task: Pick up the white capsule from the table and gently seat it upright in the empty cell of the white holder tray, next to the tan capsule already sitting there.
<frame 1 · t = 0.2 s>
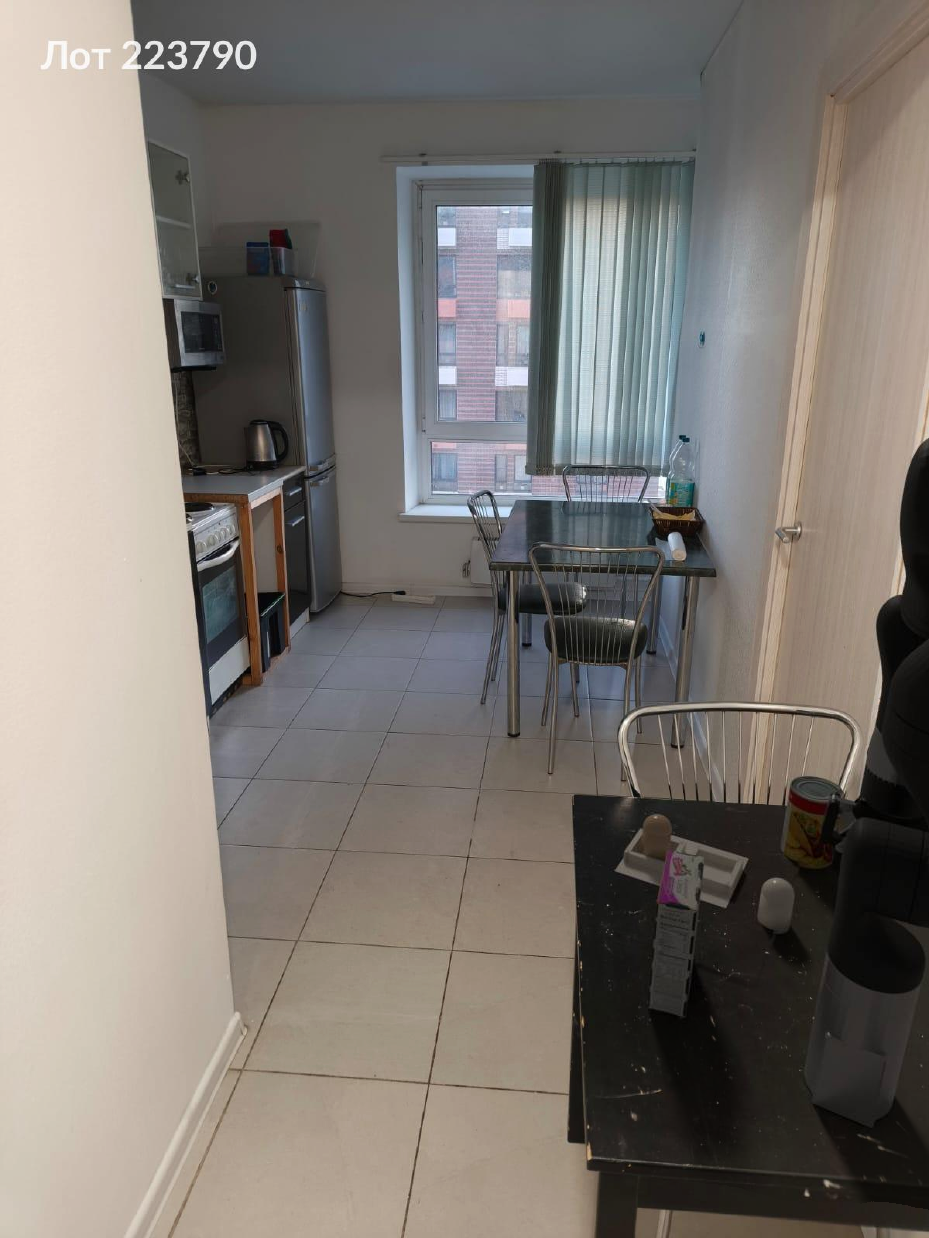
hand: (878, 883, 103), 18 cm above the table, tool pointing down, fingers open, 8 cm apart
candy bar box: (669, 984, 111), on the table
white capsule: (773, 923, 122), on the table
white holder tray: (682, 867, 134), on the table
tan capsule: (654, 855, 136), point 1 cm above the table, touching white holder tray
canned food: (805, 854, 138), on the table
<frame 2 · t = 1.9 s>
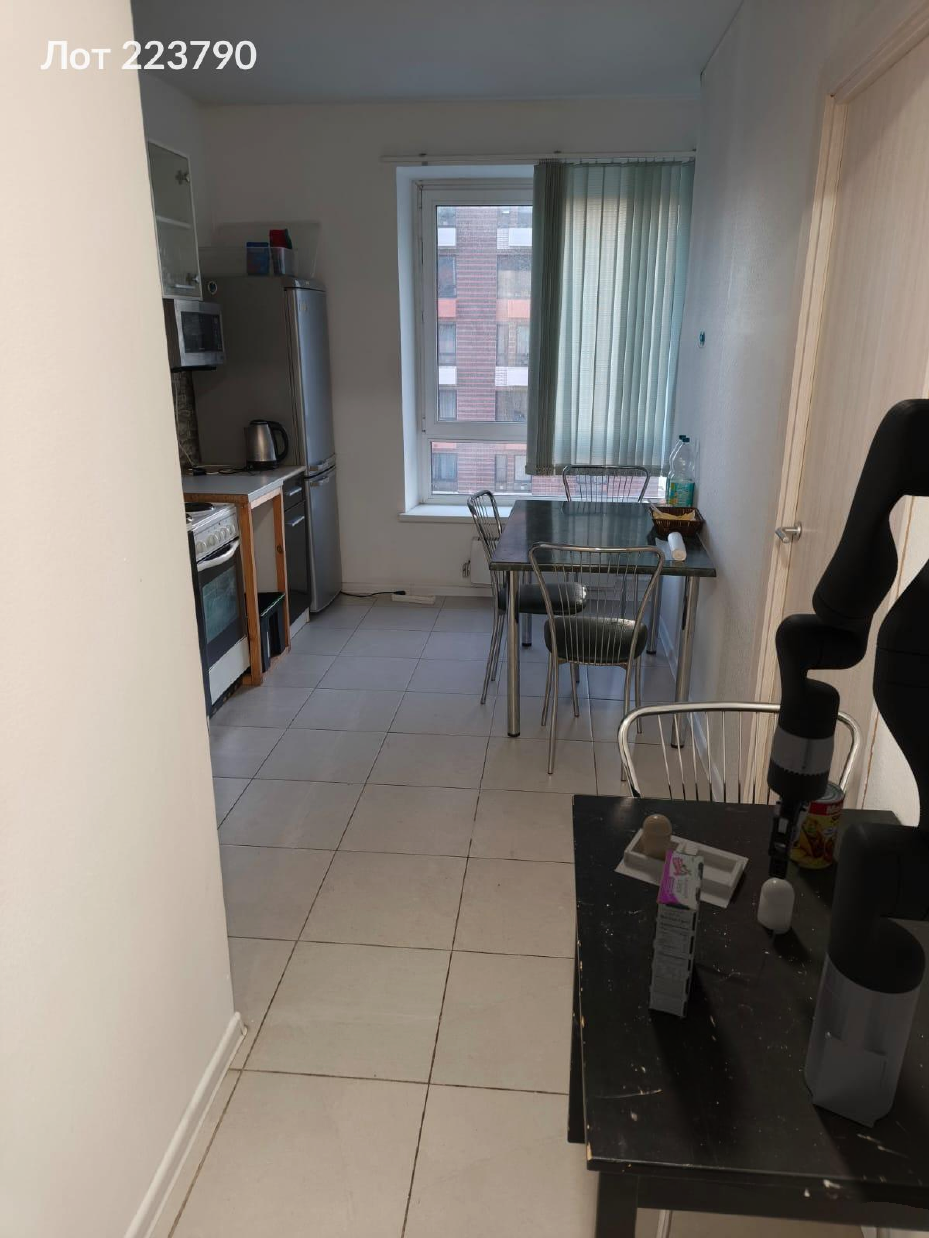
hand: (783, 859, 119), 10 cm above the table, tool pointing down, fingers open, 8 cm apart
nothing on the table moved.
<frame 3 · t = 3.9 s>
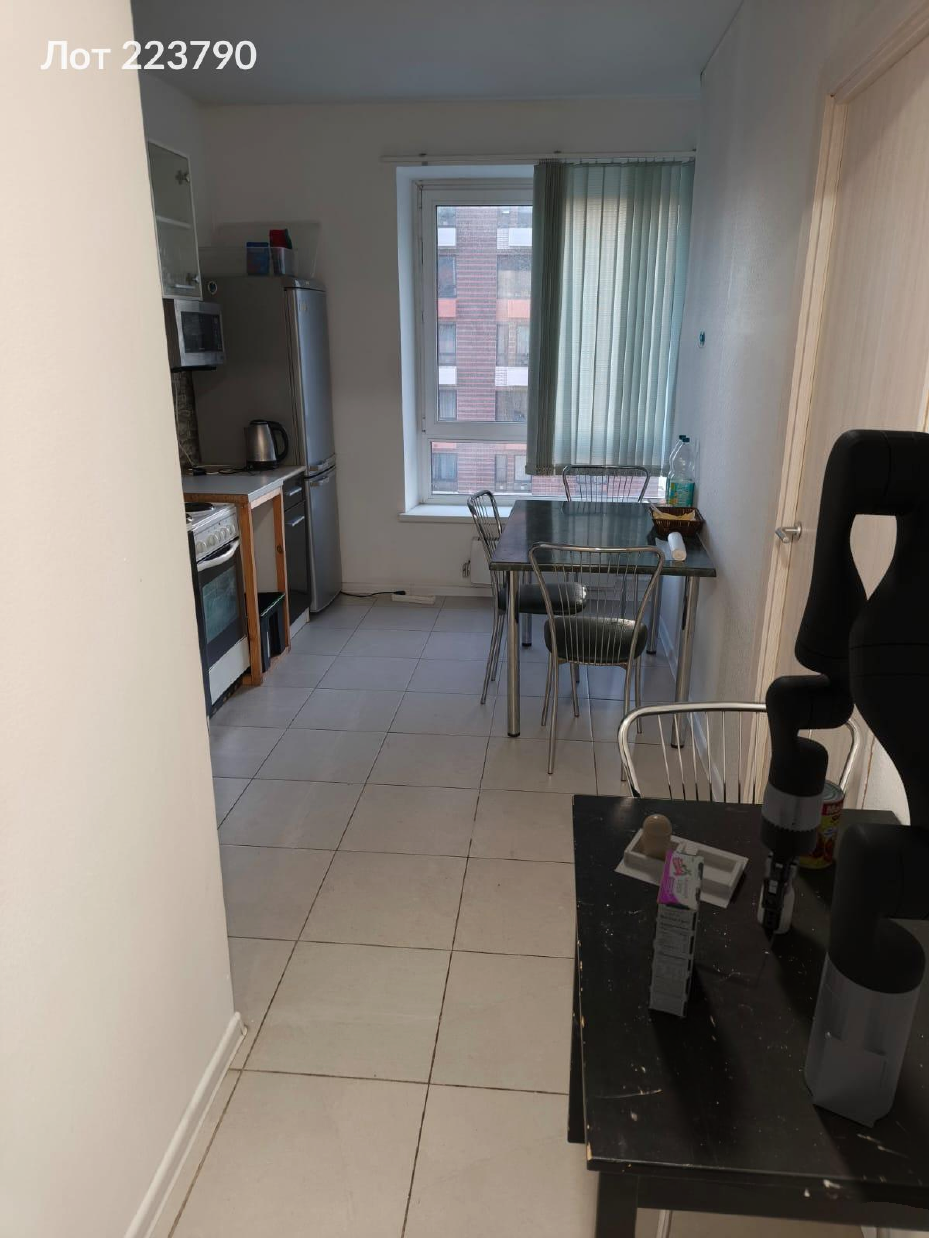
hand: (774, 916, 122), 1 cm above the table, tool pointing down, fingers closed on white capsule, 4 cm apart
white capsule: (773, 923, 122), on the table, touching gripper
everything else where it was.
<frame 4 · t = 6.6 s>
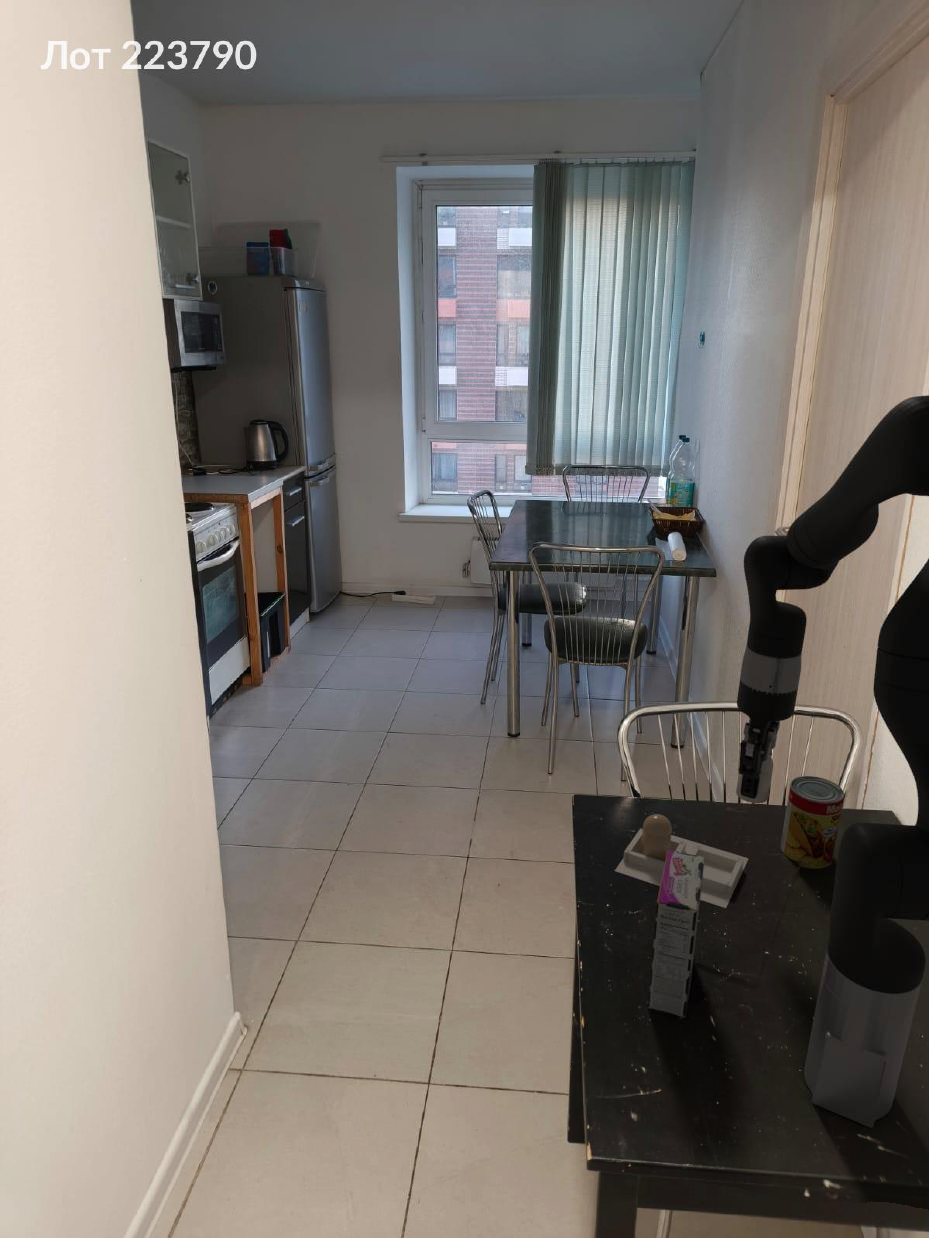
hand: (752, 787, 122), 18 cm above the table, tool pointing down, fingers closed on white capsule, 4 cm apart
white capsule: (752, 794, 123), point 17 cm above the table, touching gripper
everything else where it was.
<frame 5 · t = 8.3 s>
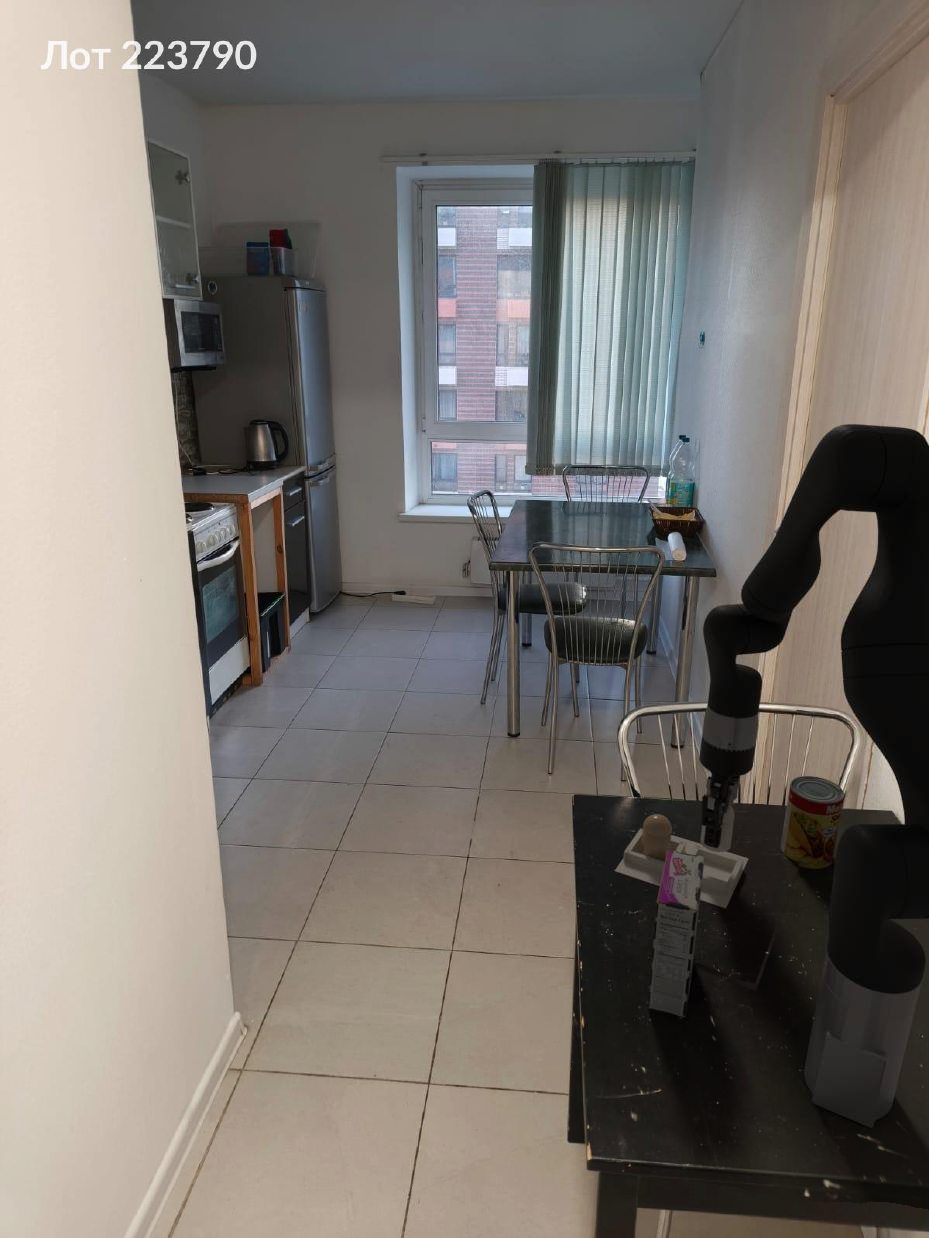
hand: (716, 836, 130), 7 cm above the table, tool pointing down, fingers closed on white capsule, 4 cm apart
white capsule: (715, 843, 130), point 6 cm above the table, touching gripper
everything else where it was.
when the fingers open (4 cm above the table, at t = 9.8 s): white capsule drops 2 cm, resting on white holder tray.
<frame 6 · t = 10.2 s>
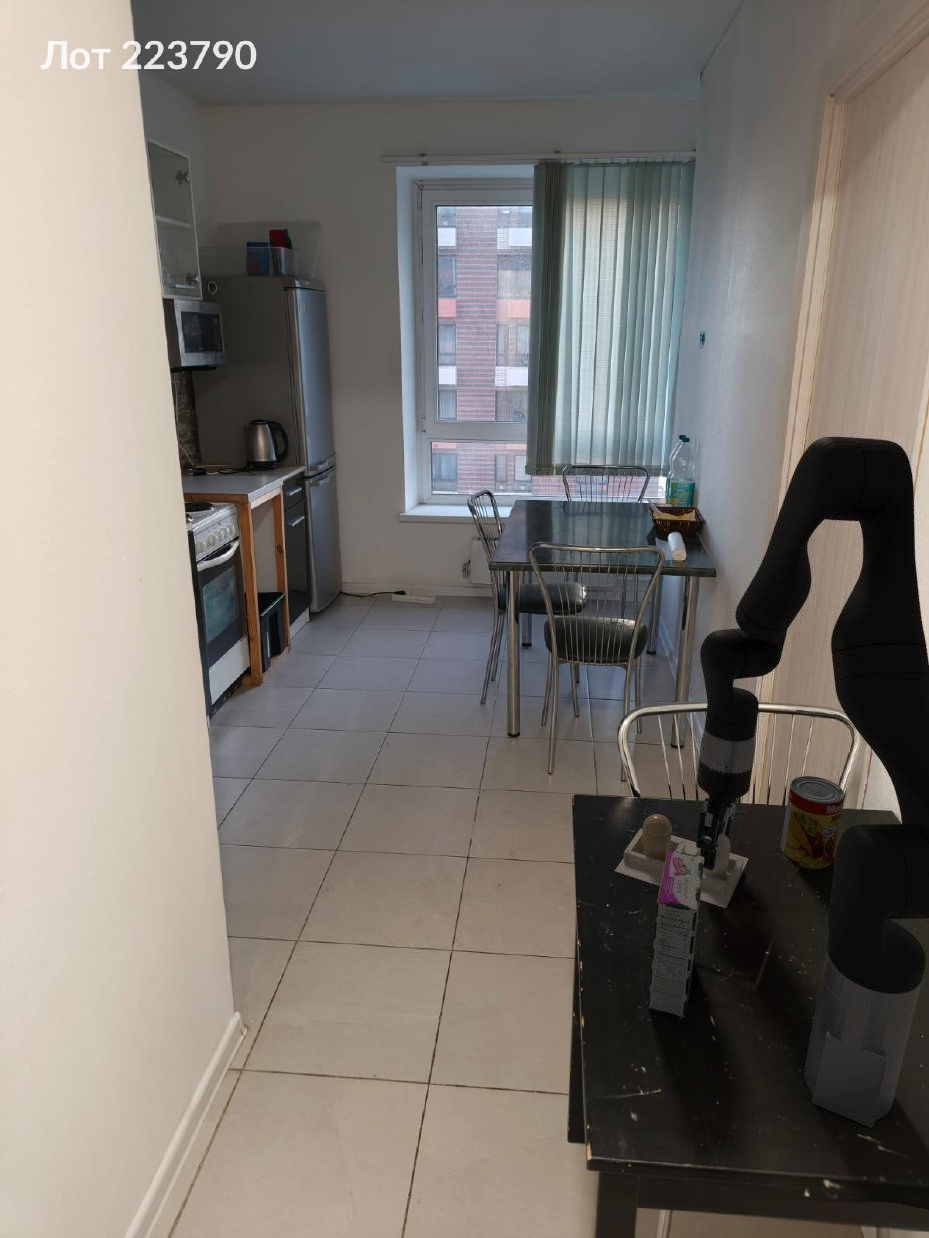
hand: (714, 852, 131), 4 cm above the table, tool pointing down, fingers open, 8 cm apart
white capsule: (711, 873, 132), point 1 cm above the table, touching white holder tray
everything else where it was.
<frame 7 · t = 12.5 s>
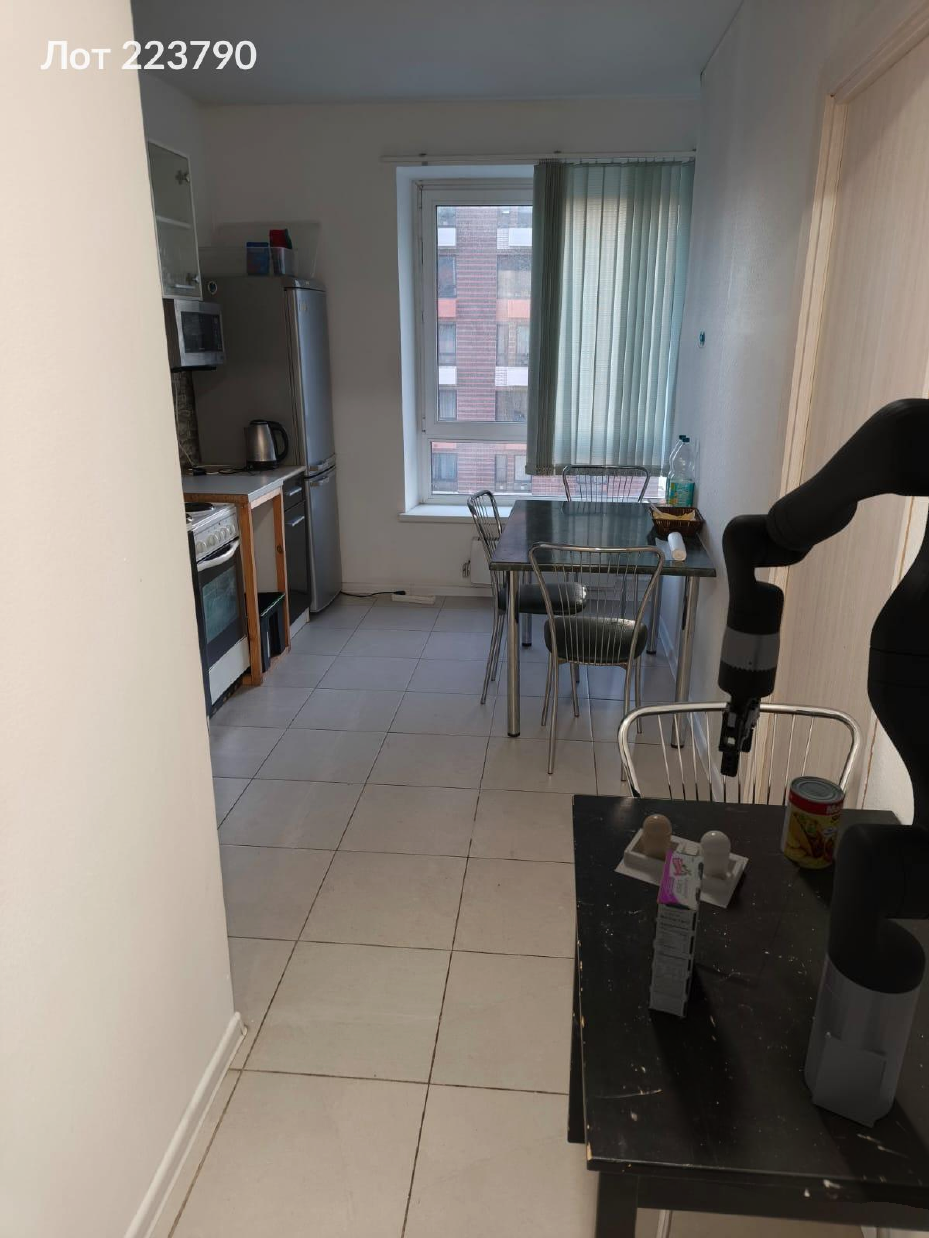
hand: (735, 762, 123), 21 cm above the table, tool pointing down, fingers open, 8 cm apart
nothing on the table moved.
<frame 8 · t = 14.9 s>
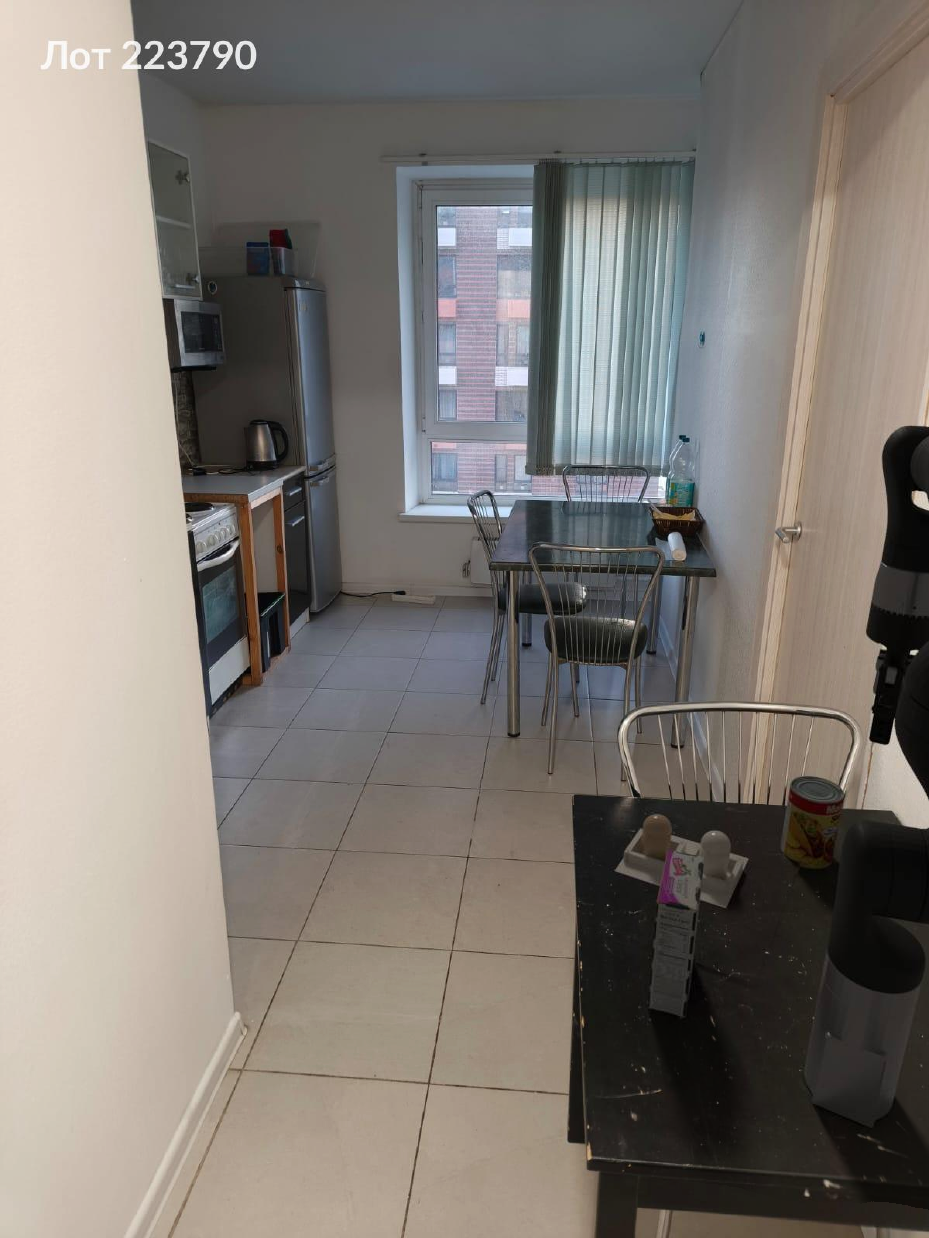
hand: (882, 728, 105), 34 cm above the table, tool pointing down, fingers open, 8 cm apart
nothing on the table moved.
at the end: white capsule 0.2 cm from the target spot on the white holder tray, point 0.6 cm above the white holder tray's base; white capsule tilted 0°; the gripper is holding nothing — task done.
